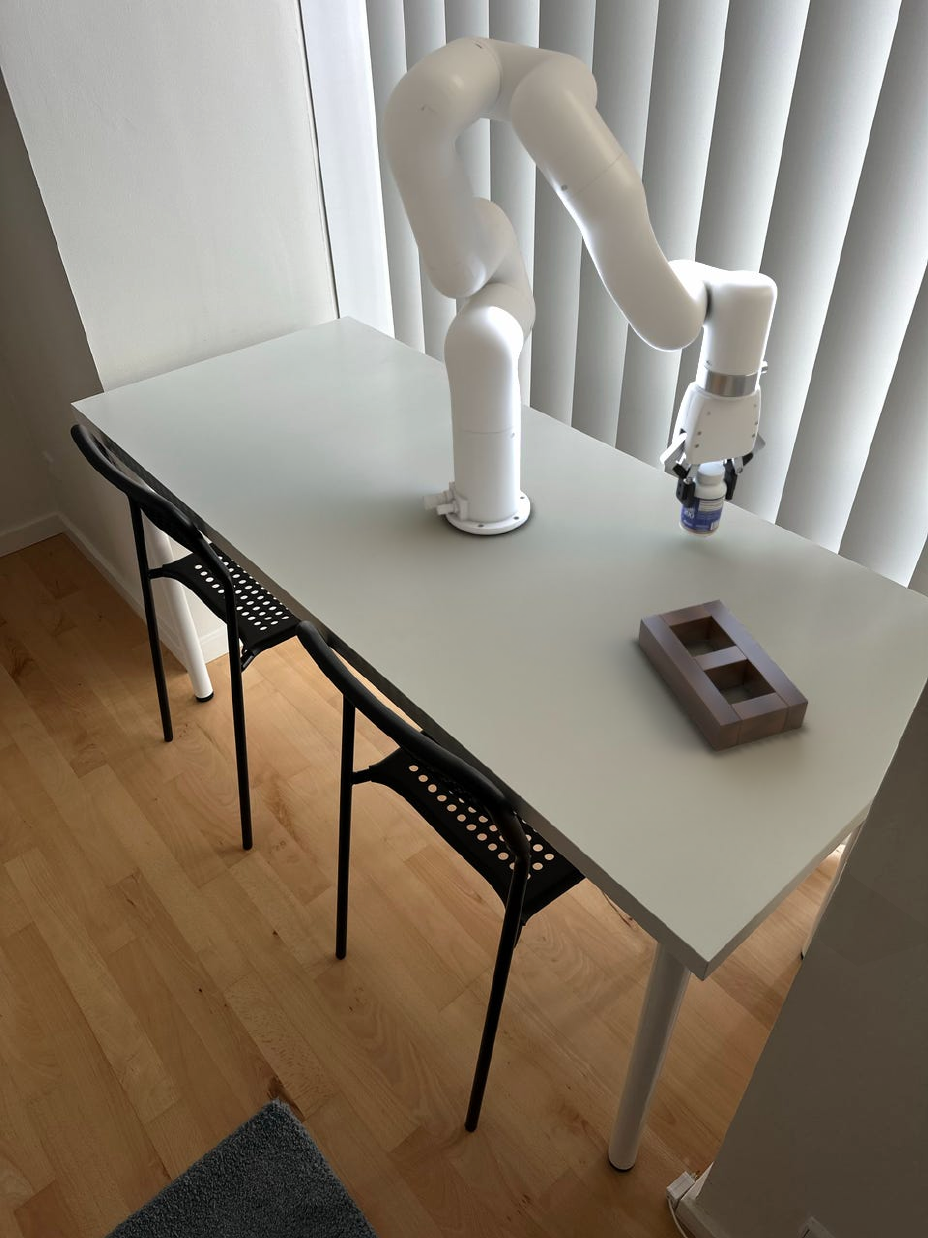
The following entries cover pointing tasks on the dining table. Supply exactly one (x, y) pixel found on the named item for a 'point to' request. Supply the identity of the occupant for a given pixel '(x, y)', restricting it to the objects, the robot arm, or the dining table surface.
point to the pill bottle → (705, 501)
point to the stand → (721, 674)
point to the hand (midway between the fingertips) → (704, 497)
